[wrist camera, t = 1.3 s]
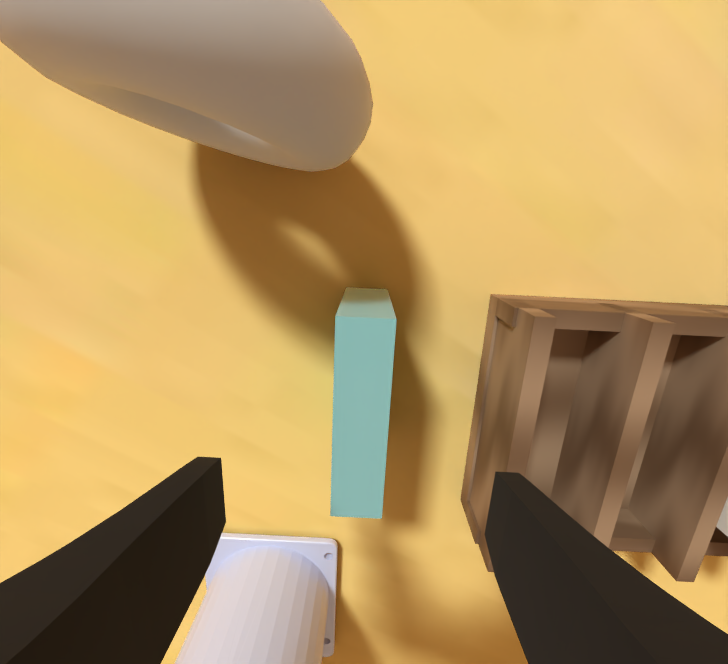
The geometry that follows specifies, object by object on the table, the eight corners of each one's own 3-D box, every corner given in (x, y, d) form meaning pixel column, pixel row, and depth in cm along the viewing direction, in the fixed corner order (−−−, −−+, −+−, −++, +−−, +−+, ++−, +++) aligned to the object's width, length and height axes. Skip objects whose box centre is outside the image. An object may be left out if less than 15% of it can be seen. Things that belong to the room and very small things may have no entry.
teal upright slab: (378, 433, 20) (381, 518, 14) (341, 431, 20) (330, 515, 14) (387, 288, 17) (396, 319, 12) (346, 287, 17) (335, 316, 12)
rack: (703, 511, 21) (791, 586, 16) (460, 499, 21) (484, 571, 16) (780, 308, 17) (917, 335, 13) (490, 294, 17) (530, 316, 13)
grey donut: (381, 111, 15) (401, -89, 6) (360, 195, 16) (346, 147, 7) (146, 38, 15) (-281, -324, 5) (138, 129, 16) (-235, -29, 6)
